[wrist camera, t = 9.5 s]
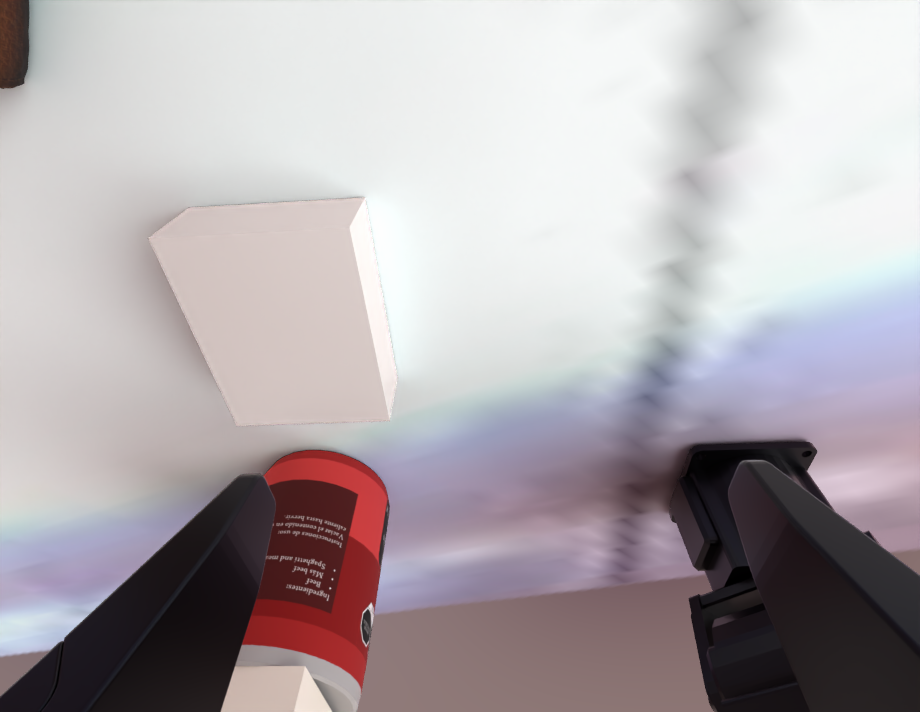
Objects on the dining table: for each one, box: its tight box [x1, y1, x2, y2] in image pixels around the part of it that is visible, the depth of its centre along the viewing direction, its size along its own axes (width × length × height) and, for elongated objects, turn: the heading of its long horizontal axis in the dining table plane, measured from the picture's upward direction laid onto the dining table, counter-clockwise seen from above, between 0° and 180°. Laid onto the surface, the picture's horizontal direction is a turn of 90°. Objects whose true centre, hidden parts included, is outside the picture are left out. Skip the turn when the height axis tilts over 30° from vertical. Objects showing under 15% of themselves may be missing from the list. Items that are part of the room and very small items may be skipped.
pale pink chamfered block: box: [148, 197, 398, 426], centre depth 20 cm, size 7×9×3 cm
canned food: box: [235, 450, 390, 712], centre depth 25 cm, size 8×8×11 cm
